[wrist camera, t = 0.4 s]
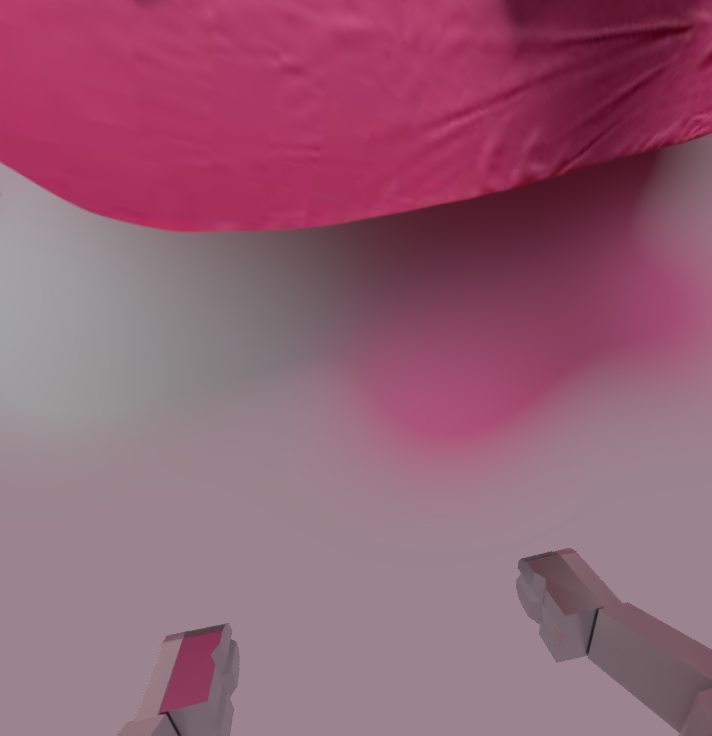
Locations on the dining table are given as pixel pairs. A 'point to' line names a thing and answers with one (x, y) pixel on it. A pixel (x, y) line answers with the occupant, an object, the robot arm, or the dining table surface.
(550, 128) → the dining table surface
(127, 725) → the robot arm
